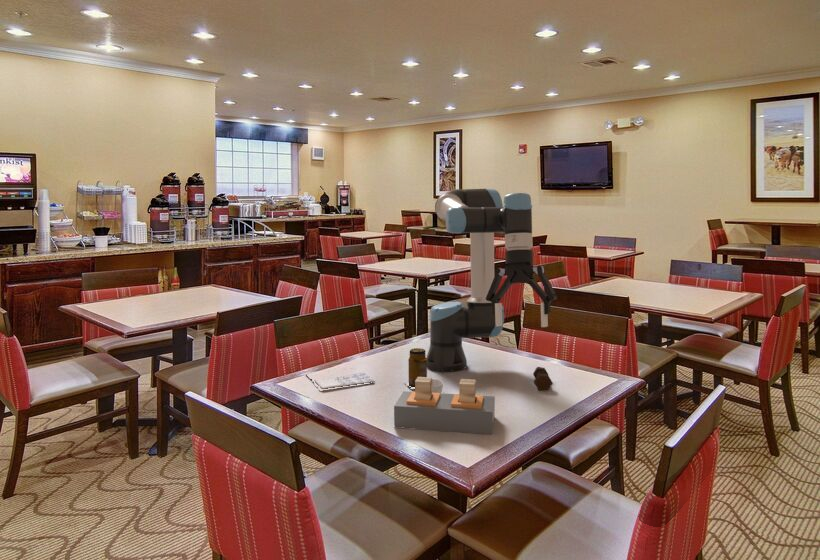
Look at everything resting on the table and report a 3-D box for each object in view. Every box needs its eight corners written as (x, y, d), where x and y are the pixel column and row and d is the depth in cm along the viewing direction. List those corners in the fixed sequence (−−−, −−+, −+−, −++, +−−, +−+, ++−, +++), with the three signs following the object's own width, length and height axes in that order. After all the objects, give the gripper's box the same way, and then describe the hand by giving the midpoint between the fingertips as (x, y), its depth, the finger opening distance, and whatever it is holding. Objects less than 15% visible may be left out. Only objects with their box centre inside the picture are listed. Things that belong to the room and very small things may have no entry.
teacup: (415, 391, 177) (415, 377, 176) (446, 391, 177) (446, 377, 176) (414, 402, 167) (414, 387, 166) (447, 402, 167) (447, 387, 166)
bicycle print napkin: (320, 393, 177) (319, 387, 177) (305, 376, 195) (304, 370, 195) (375, 385, 185) (375, 379, 184) (356, 369, 203) (356, 363, 203)
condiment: (423, 381, 187) (423, 346, 186) (433, 388, 179) (433, 352, 178) (403, 383, 185) (403, 348, 183) (412, 391, 177) (411, 354, 175)
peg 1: (418, 399, 154) (417, 376, 153) (432, 400, 153) (432, 377, 152) (415, 404, 150) (415, 381, 149) (429, 405, 149) (429, 382, 149)
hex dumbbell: (541, 381, 191) (545, 394, 176) (528, 374, 191) (531, 386, 177) (550, 367, 190) (555, 379, 175) (537, 360, 190) (541, 371, 176)
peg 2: (460, 402, 152) (460, 379, 151) (475, 403, 151) (475, 379, 150) (459, 407, 148) (459, 383, 147) (474, 408, 147) (474, 384, 146)
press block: (403, 411, 160) (403, 388, 159) (494, 417, 154) (494, 393, 154) (394, 427, 148) (394, 403, 147) (492, 434, 143) (492, 409, 142)
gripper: (472, 251, 157) (474, 326, 157) (557, 245, 142) (559, 328, 142) (485, 253, 163) (487, 325, 163) (567, 247, 149) (570, 326, 148)
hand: (521, 326), depth 152 cm, fingers open, 13 cm apart
